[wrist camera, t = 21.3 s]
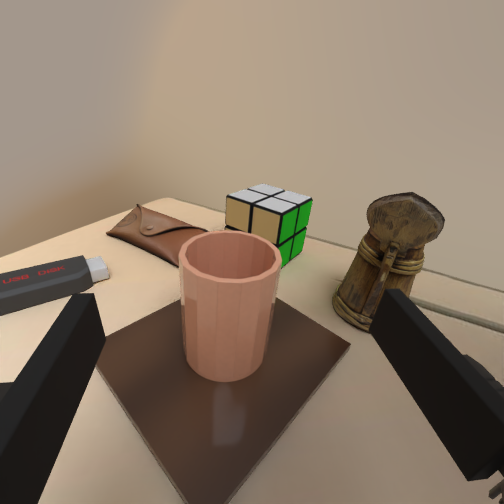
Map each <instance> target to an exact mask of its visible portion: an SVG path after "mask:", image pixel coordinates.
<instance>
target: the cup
mask: <svg viewBox="0 0 504 504" xmlns="http://www.w3.org/2000/svg"><path fill="white" fill-rule="evenodd" d="M178 256H179V275H180V294H181V313H182V333H183V348H184V353H185V358H186V360H187V362H188V364H189V366H190V367H191V368H192V369H193V370H194V371H195V372H196V373H197V374H199V375H200V376H202V377H204V378H206V379H209V380H212V381H217V382H232V381H237V380H241V379H243V378H246V377H248V376H249V375H251V374H252V373H254V372H255V371H256V370H257V369H258V368H259V367H260V365H261V364H262V362H263V360H264V357H265V353H266V350H267V346H268V340H269V334H270V329H271V323H272V317H273V311H274V305H275V299H276V294H277V288H278V282H279V276H280V270H281V264H282V258H281V254H280V251H279V249H278V248H277V247H276V246H274V245H273V244H272V243H271V242H270V241H268V240H266V239H264V238H262V237H260V236H258V235H255V234H250V233H246V232H242V231H230V230H220V231H211V232H206V233H203V234H200V235H197V236H194V237H192V238H190V239H189V240H188V241H187V242H185V243H184V244H183V245H182V247H181V249H180V252H179V255H178Z"/></svg>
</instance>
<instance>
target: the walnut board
mask: <svg viewBox="0 0 504 504" xmlns="http://www.w3.org/2000/svg"><path fill="white" fill-rule="evenodd" d="M350 345H351V344H350V343H348V342H347V341H345V340H344V339H342V338H340V337H339V336H337V335H336V334H334V333H332V332H331V331H329V330H328V329H326V328H324V327H323V326H321V325H320V324H318V323H316V322H315V321H313V320H312V319H310V318H308V317H307V316H305V315H304V314H302V313H300V312H299V311H297V310H296V309H294V308H292V307H291V306H289V305H288V304H286V303H284V302H283V301H281V300H280V299H278V298H276V299H275V305H274V311H273V317H272V323H271V329H270V334H269V340H268V346H267V350H266V353H265V357H264V360H263V362H262V364H261V365H260V367H259V368H258V369H257V370H256V371H255V372H254V373H252V374H251V375H249V376H248V377H246V378H243V379H241V380H237V381H232V382H217V381H212V380H209V379H206V378H204V377H202V376H200V375H199V374H197V373H196V372H195V371H194V370H193V369H192V368H191V367H190V366H189V364H188V362H187V360H186V358H185V353H184V348H183V333H182V313H181V299H179V300H177V301H176V302H174V303H172V304H170V305H168V306H166V307H164V308H162V309H160V310H158V311H156V312H154V313H152V314H150V315H148V316H146V317H144V318H142V319H140V320H138V321H136V322H134V323H132V324H130V325H128V326H126V327H124V328H122V329H120V330H118V331H116V332H114V333H112V334H110V335H108V336H106V342H105V344H104V347H103V349H102V351H101V354H100V356H99V359H98V361H97V363H96V366H95V367H96V369H97V370H98V372H99V373H100V375H101V376H102V378H103V379H104V381H105V382H106V384H107V385H108V387H109V388H110V390H111V391H112V393H113V394H114V396H115V397H116V399H117V400H118V402H119V404H120V405H121V407H122V408H123V410H124V411H125V413H126V414H127V416H128V417H129V419H130V420H131V422H132V423H133V425H134V426H135V428H136V429H137V431H138V432H139V434H140V435H141V437H142V438H143V440H144V442H145V443H146V445H147V446H148V448H149V449H150V451H151V452H152V454H153V455H154V457H155V458H156V460H157V461H158V463H159V464H160V466H161V467H162V469H163V470H164V472H165V473H166V475H167V477H168V478H169V480H170V481H171V483H172V484H173V486H174V487H175V489H176V490H177V492H178V493H179V495H180V496H181V498H182V499H183V501H184V502H185V504H228V502H229V501H230V500H231V499H232V497H233V496H234V495H235V494H236V492H237V491H238V490H239V489H240V487H241V486H242V485H243V483H244V482H245V481H246V480H247V478H248V477H249V476H250V475H251V473H252V472H253V471H254V469H255V468H256V467H257V466H258V464H259V463H260V462H261V461H262V459H263V458H264V457H265V456H266V454H267V453H268V452H269V450H270V449H271V448H272V447H273V445H274V444H275V443H276V442H277V440H278V439H279V438H280V436H281V435H282V434H283V433H284V431H285V430H286V429H287V428H288V426H289V425H290V424H291V423H292V421H293V420H294V419H295V417H296V416H297V415H298V414H299V412H300V411H301V410H302V409H303V407H304V406H305V405H306V403H307V402H308V401H309V400H310V398H311V397H312V396H313V395H314V393H315V392H316V391H317V390H318V388H319V387H320V386H321V384H322V383H323V382H324V381H325V379H326V378H327V377H328V376H329V374H330V373H331V372H332V370H333V369H334V368H335V367H336V365H337V364H338V363H339V362H340V360H341V359H342V358H343V357H344V355H345V354H346V353H347V351H348V350H349V348H350Z"/></svg>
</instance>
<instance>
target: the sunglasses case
mask: <svg viewBox="0 0 504 504" xmlns="http://www.w3.org/2000/svg"><path fill="white" fill-rule="evenodd" d="M206 232H209V231H208V230H206V229H203V228H200V227H195V226H192V225H190V224H187V223H185V222H183V221H180V220H178V219H175V218H172V217H169V216H167V215H164V214H161V213H158V212H155V211H152V210H149V209H147V208H144V207H142V206H141V205H139V204H137V207H136V208H134V209H133V210H132V211H131V212H130V213H129V214H128V215H127V216H126V217H124V218H123V219H122V220H121V221H120V222H119V223H118V224H117V225H116V226H115V227H114V228H112V230H110V231H109V232H106V234H108V235H111V236H114V237H117V238H120V239H122V240H124V241H126V242H128V243H131V244H133V245H135V246H137V247H139V248H141V249H144V250H146V251H147V252H149V253H151V254H153V255H155V256H157V257H159V258H162V259H164V260H166V261H168V262H170V263H172V264H174V265H177V266H179V256H178V255H179V252H180V249H181V247H182V245H183V244H184V243H185V242H187V241H188V240H189V239H190V238H192V237H194V236H197V235H200V234H203V233H206Z"/></svg>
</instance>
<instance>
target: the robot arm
mask: <svg viewBox="0 0 504 504" xmlns="http://www.w3.org/2000/svg"><path fill="white" fill-rule="evenodd" d="M368 330H369V331H370V333H371V334H372V336H373V337H374V339H375V340H376V342H377V344H378V345H379V347H380V348H381V350H382V351H383V353H384V354H385V356H386V357H387V359H388V360H389V362H390V363H391V365H392V366H393V368H394V369H395V371H396V373H397V374H398V376H399V377H400V379H401V380H402V382H403V383H404V385H405V386H406V388H407V389H408V391H409V392H410V394H411V395H412V397H413V399H414V400H415V402H416V403H417V405H418V406H419V408H420V409H421V411H422V412H423V414H424V415H425V417H426V418H427V420H428V421H429V423H430V424H431V426H432V428H433V429H434V431H435V432H436V434H437V435H438V437H439V438H440V440H441V441H442V443H443V444H444V446H445V447H446V449H447V450H448V452H449V453H450V455H451V457H452V458H453V460H454V461H455V463H456V464H457V466H458V467H459V469H460V470H461V472H462V473H463V475H464V476H465V478H466V479H467V481H474V480H481V479H488V478H489V477H490V476H491V475H493V474H494V473H495V472H496V471H497V470H499V472H500V473H501V474H502V476H503V477H504V387H503V386H502V385H501V384H500V383H499V382H498V381H495V378H494V377H493V376H492V375H491V374H490V373H489V372H488V371H487V370H486V369H485V368H484V367H483V366H482V365H481V364H479V363H478V362H477V361H475V360H474V359H472V358H471V357H470V356H468V355H462V354H461V353H460V352H459V351H458V350H457V349H456V348H455V347H454V345H453V344H452V343H451V342H450V341H449V340H448V339H447V338H446V337H445V336H444V335H443V334H442V333H441V332H440V331H439V330H438V329H437V328H436V326H435V325H434V324H433V323H432V322H431V321H430V320H429V319H428V318H427V317H426V316H425V315H424V314H423V313H422V312H421V311H420V310H419V309H418V307H417V306H416V305H415V304H414V303H413V302H412V301H411V300H410V299H409V298H408V297H407V296H406V295H405V294H404V293H403V292H402V291H401V290H400V288H395V289H385V290H384V293H383V295H382V298H381V300H380V302H379V305H378V307H377V310H376V312H375V315H374V317H373V319H372V322H371V324H370V327H369V329H368ZM105 342H106V337H105V333H104V330H103V326H102V322H101V318H100V315H99V311H98V307H97V303H96V300H95V296H94V293H78V294H73V295H72V297H71V298H70V300H69V301H68V303H67V304H66V306H65V307H64V309H63V310H62V311H61V313H60V314H59V316H58V317H57V319H56V320H55V322H54V323H53V325H52V326H51V328H50V329H49V331H48V332H47V334H46V335H45V337H44V338H43V340H42V341H41V343H40V344H39V346H38V347H37V348H36V350H35V351H34V353H33V354H32V356H31V357H30V359H29V360H28V362H27V363H26V365H25V366H24V368H23V369H22V371H21V372H20V374H19V375H18V377H17V378H16V380H15V381H14V382H7V383H0V504H38V502H39V499H40V497H41V494H42V492H43V490H44V487H45V485H46V483H47V480H48V478H49V475H50V473H51V471H52V468H53V466H54V463H55V461H56V459H57V456H58V454H59V452H60V449H61V447H62V444H63V442H64V440H65V437H66V435H67V432H68V430H69V428H70V425H71V423H72V421H73V418H74V416H75V413H76V411H77V409H78V406H79V404H80V401H81V399H82V397H83V394H84V392H85V390H86V387H87V385H88V382H89V380H90V378H91V375H92V373H93V371H94V368H95V366H96V363H97V361H98V359H99V356H100V354H101V351H102V349H103V347H104V344H105ZM500 493H502V498H501V499H500V501H499V503H500V504H504V479H503V480H502V481H501V482H500V483H498V484H497V485H496V486H495V487H493V488H492V489H491V490H490V491H489V497H490V498H491V499H494V498H495V497H496V496H498V495H499V494H500Z"/></svg>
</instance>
